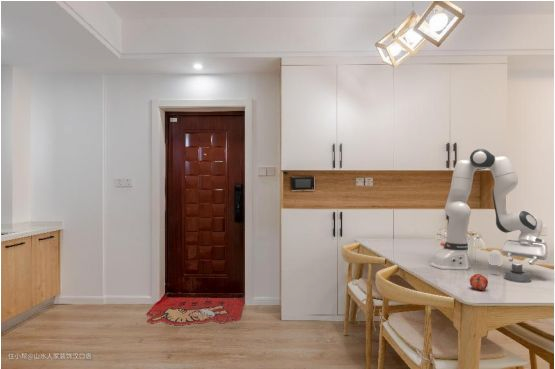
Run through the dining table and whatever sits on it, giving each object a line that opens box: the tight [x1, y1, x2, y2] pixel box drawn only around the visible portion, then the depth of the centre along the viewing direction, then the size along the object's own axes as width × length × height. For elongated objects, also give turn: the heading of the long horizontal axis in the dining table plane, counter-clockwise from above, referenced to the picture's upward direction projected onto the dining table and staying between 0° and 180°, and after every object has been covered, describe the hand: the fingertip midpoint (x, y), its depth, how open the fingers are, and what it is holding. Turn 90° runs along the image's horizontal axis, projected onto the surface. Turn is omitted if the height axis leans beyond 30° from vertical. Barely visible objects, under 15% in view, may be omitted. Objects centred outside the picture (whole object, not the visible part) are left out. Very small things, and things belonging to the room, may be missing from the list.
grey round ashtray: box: [503, 268, 532, 284], centre depth 188 cm, size 11×11×4 cm
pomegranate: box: [469, 273, 489, 291], centre depth 170 cm, size 7×7×10 cm
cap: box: [511, 262, 523, 273], centre depth 188 cm, size 4×4×8 cm
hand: (520, 262), depth 191 cm, fingers open, 8 cm apart
